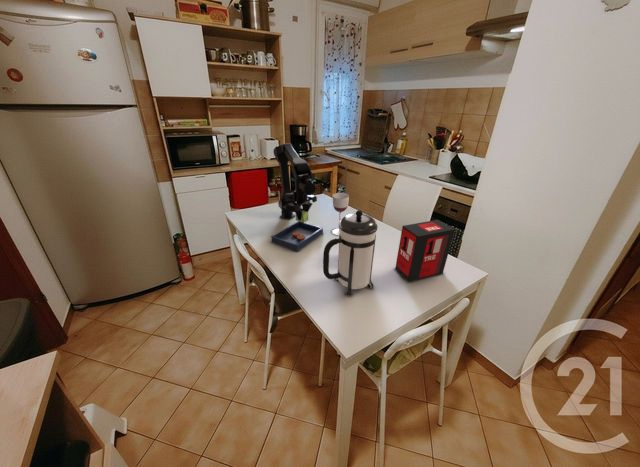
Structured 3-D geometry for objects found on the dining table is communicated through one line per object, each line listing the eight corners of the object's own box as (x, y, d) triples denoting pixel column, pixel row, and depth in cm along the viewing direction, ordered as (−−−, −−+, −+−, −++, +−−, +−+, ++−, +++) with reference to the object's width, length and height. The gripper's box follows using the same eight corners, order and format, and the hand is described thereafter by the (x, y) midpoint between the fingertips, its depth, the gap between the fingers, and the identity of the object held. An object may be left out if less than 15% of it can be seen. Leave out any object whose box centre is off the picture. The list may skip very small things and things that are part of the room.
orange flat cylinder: (295, 232, 134) (295, 230, 134) (301, 234, 132) (301, 233, 132) (290, 235, 131) (290, 234, 131) (297, 237, 129) (297, 236, 129)
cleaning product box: (408, 282, 100) (418, 236, 91) (395, 269, 108) (402, 225, 98) (442, 273, 106) (455, 229, 96) (427, 261, 113) (437, 219, 104)
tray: (298, 226, 143) (298, 220, 141) (322, 233, 135) (323, 227, 134) (271, 242, 127) (271, 236, 125) (297, 251, 119) (297, 245, 118)
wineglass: (329, 234, 135) (330, 197, 125) (334, 227, 142) (336, 191, 132) (344, 237, 132) (346, 199, 123) (349, 229, 139) (351, 194, 130)
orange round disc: (300, 235, 131) (300, 234, 131) (306, 238, 129) (306, 236, 129) (295, 239, 128) (295, 237, 128) (301, 241, 126) (301, 239, 126)
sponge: (300, 217, 136) (300, 209, 134) (308, 220, 133) (308, 211, 131) (295, 220, 133) (295, 212, 131) (303, 222, 130) (303, 214, 128)
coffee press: (340, 267, 109) (343, 199, 95) (377, 277, 103) (387, 206, 89) (322, 292, 95) (322, 216, 81) (364, 306, 89) (373, 227, 75)
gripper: (299, 181, 136) (300, 209, 144) (275, 190, 123) (277, 221, 130) (317, 185, 131) (317, 213, 138) (294, 195, 117) (295, 226, 124)
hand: (302, 218), depth 133 cm, fingers closed on sponge, 4 cm apart
